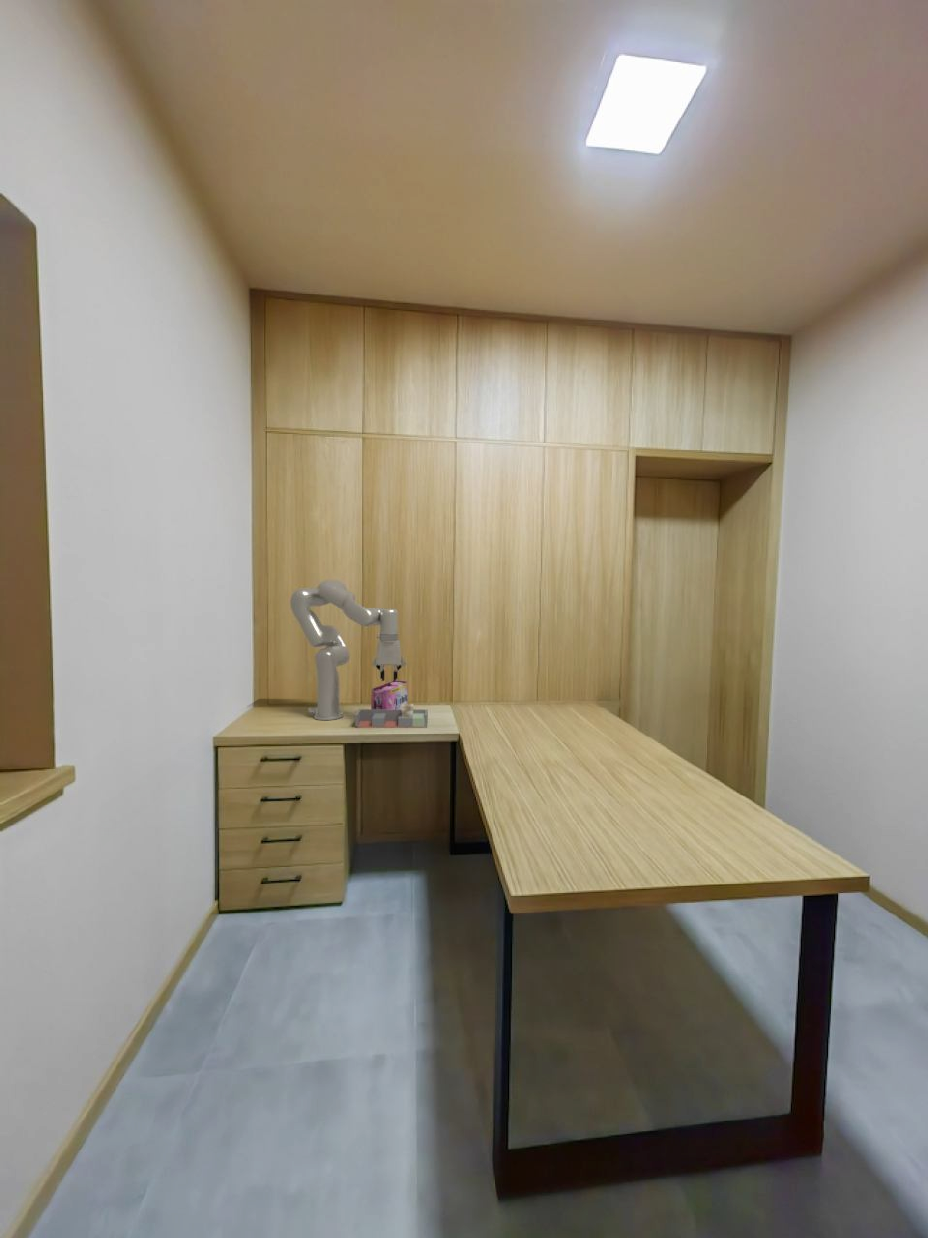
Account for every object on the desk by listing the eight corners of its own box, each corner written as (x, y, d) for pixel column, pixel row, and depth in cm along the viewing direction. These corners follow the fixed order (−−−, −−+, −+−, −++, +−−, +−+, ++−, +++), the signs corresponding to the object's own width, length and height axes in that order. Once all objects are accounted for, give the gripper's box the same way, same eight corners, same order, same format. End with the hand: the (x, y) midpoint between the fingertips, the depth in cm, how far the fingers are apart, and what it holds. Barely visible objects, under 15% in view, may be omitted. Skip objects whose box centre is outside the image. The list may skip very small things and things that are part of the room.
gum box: (384, 721, 215) (385, 691, 214) (369, 719, 217) (369, 689, 216) (408, 709, 237) (408, 681, 236) (393, 707, 240) (393, 680, 239)
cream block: (401, 716, 208) (401, 706, 207) (402, 714, 212) (402, 703, 212) (412, 716, 208) (412, 706, 207) (413, 714, 212) (413, 703, 212)
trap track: (355, 727, 205) (355, 714, 204) (359, 721, 214) (359, 709, 213) (426, 727, 206) (427, 714, 206) (427, 721, 215) (427, 709, 215)
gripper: (367, 638, 203) (367, 682, 205) (408, 639, 204) (408, 682, 205) (370, 636, 211) (370, 678, 212) (409, 637, 211) (409, 679, 213)
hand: (388, 680), depth 209 cm, fingers open, 4 cm apart
